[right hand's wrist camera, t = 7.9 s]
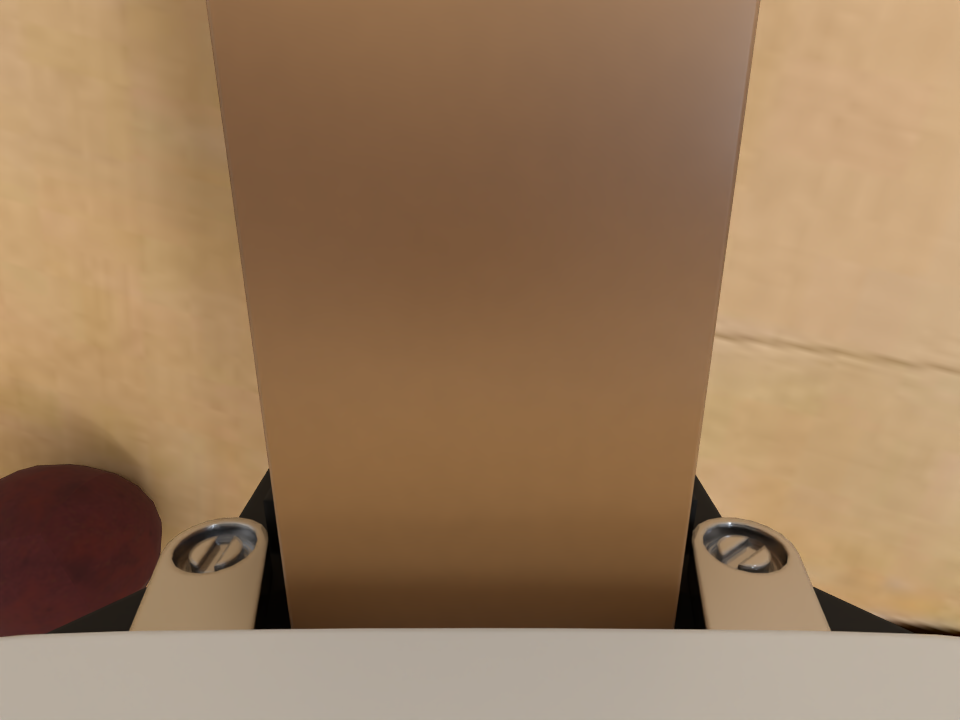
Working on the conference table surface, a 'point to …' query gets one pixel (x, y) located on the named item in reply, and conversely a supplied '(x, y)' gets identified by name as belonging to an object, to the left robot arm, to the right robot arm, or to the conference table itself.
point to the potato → (71, 545)
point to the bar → (482, 295)
